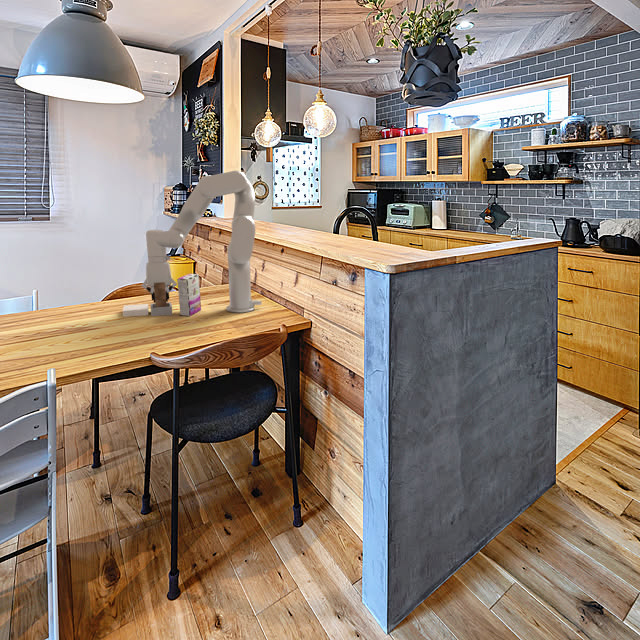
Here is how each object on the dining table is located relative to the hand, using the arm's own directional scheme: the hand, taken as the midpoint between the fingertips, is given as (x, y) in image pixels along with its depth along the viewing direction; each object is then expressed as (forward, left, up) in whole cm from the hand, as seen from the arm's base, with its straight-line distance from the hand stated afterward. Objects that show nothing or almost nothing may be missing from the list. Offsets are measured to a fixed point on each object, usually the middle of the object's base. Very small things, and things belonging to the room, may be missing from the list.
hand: (160, 301), depth 202 cm
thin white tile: (+10, -3, -5) cm, 12 cm away
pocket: (0, 0, -5) cm, 5 cm away
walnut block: (0, 0, -5) cm, 5 cm away
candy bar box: (-12, +3, -6) cm, 14 cm away
